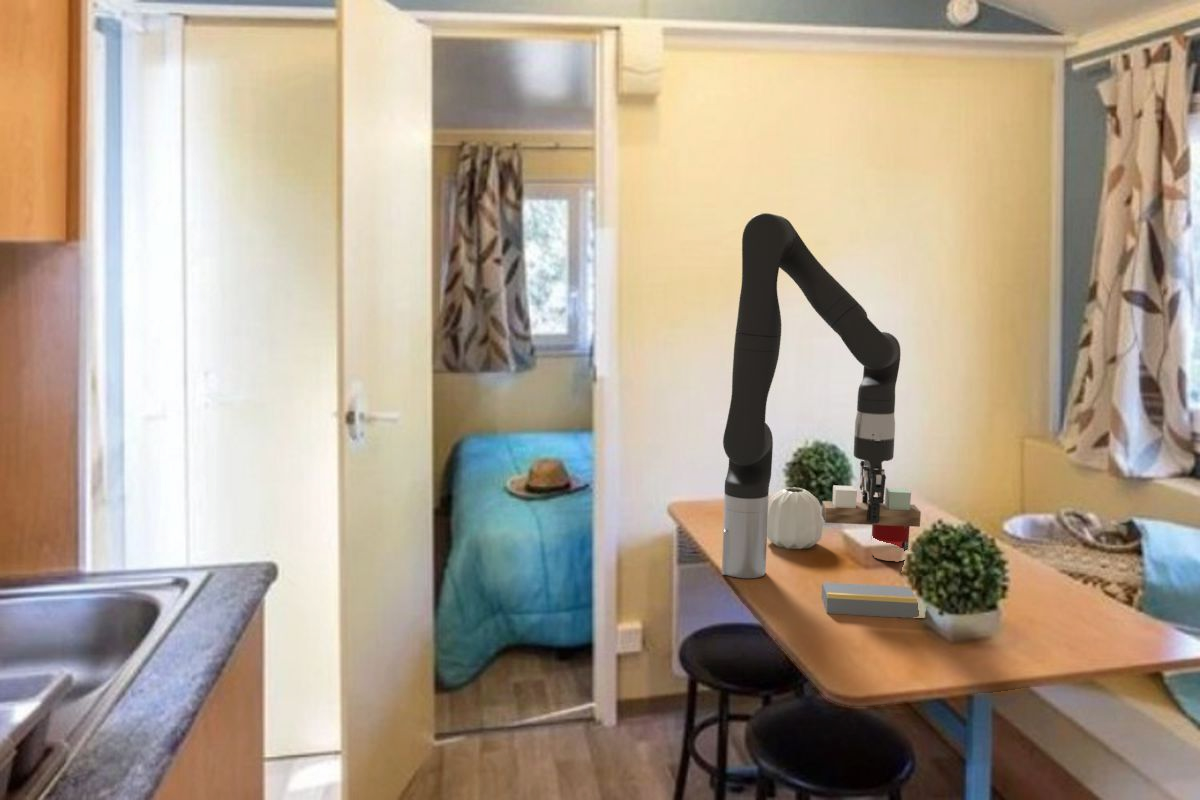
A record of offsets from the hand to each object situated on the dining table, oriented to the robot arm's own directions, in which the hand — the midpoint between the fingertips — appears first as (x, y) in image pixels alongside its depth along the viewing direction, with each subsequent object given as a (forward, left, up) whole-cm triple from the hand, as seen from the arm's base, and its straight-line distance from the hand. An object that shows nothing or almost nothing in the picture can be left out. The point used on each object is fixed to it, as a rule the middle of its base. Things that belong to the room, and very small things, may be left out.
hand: (870, 518), depth 177 cm
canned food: (+9, +25, -16) cm, 31 cm away
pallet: (0, 0, -1) cm, 1 cm away
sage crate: (+5, 0, +2) cm, 6 cm away
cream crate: (-5, 0, +2) cm, 6 cm away
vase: (-12, +31, -16) cm, 37 cm away
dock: (0, -8, -16) cm, 17 cm away
